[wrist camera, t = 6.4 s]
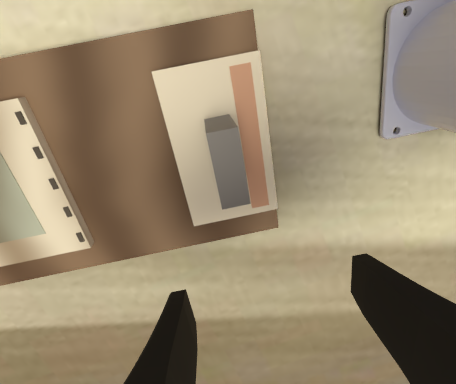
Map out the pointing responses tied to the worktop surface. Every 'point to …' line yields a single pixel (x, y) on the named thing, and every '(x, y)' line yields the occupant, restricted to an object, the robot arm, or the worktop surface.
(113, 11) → the worktop surface
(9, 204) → the ticket board
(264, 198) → the stub
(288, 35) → the worktop surface
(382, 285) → the robot arm
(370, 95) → the worktop surface
